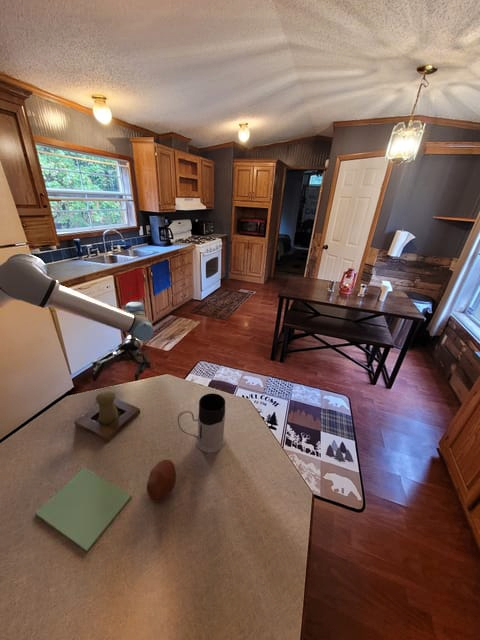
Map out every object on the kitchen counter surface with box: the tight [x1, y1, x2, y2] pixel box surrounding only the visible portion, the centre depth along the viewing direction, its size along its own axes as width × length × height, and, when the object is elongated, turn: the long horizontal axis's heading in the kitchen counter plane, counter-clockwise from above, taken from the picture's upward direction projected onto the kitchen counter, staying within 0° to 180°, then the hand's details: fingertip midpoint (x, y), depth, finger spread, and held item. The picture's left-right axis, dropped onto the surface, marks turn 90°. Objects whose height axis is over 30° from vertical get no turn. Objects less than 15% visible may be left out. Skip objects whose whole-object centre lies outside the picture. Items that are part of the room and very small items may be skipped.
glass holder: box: [176, 392, 226, 454], centre depth 74 cm, size 9×14×15 cm, turn 112°
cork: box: [95, 388, 120, 427], centre depth 80 cm, size 6×6×11 cm
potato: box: [146, 458, 177, 503], centre depth 63 cm, size 7×9×6 cm
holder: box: [73, 397, 141, 444], centre depth 81 cm, size 13×13×2 cm
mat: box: [34, 467, 133, 553], centre depth 59 cm, size 16×12×1 cm
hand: (115, 377), depth 86 cm, fingers open, 13 cm apart
